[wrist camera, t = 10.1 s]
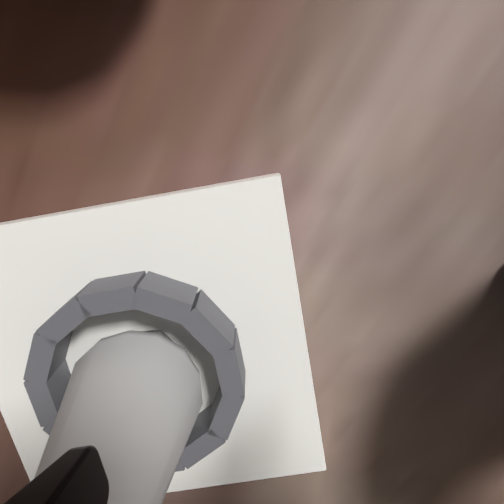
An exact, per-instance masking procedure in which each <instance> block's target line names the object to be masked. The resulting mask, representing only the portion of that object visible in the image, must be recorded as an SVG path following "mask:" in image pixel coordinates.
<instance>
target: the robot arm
mask: <svg viewBox="0 0 504 504" xmlns="http://www.w3.org/2000/svg"><path fill="white" fill-rule="evenodd" d="M108 497H109V481H108V478H107V475H106V472H105V469H104V466H103V463H102V461H101V458H100V455H99V452H98V450H97V448H96V447H95V446H92V445H87V446H81V447H74V448H71V449H69V450H68V451H67V452H65V453H64V454H63V455H62V456H61V457H59V458H58V459H57V460H56V461H55V462H53V463H52V464H51V465H50V466H49V467H47V468H46V469H45V470H44V471H43V472H41V473H40V474H39V475H38V476H37V477H35V478H34V479H33V480H32V481H31V482H30V483H28V484H27V485H26V486H25V487H24V488H22V489H21V490H20V491H19V492H18V493H16V494H15V495H14V496H13V497H12V498H10V499H9V500H8V501H7V502H6V503H4V504H107V502H108Z"/></svg>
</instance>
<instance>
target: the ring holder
mask: <svg viewBox="0 0 504 504" xmlns="http://www.w3.org/2000/svg"><path fill="white" fill-rule="evenodd" d="M129 330H133V331H149V330H162V331H163V332H164V333H165V334H166V335H167V336H169V337H170V338H171V339H172V340H173V341H174V342H175V343H177V344H178V345H180V346H181V347H183V348H184V349H185V351H186V352H187V354H188V355H189V356H190V358H191V359H192V361H193V362H194V364H195V365H196V367H197V368H198V370H199V371H200V380H201V390H202V400H203V404H202V407H201V409H200V412H199V414H198V417H197V419H196V422H195V424H194V427H193V429H192V431H191V434H190V436H189V439H188V441H187V444H186V446H185V449H184V451H183V453H182V456H181V458H180V461H179V463H178V466H177V468H176V471H175V473H174V475H173V478H172V480H171V483H170V485H169V488H168V490H167V492H166V493H168V492H176V491H183V490H190V489H197V488H204V487H211V486H218V485H225V484H232V483H239V482H246V481H253V480H260V479H267V478H274V477H281V476H288V475H295V474H303V473H310V472H317V471H324V470H326V463H325V457H324V451H323V444H322V438H321V431H320V425H319V419H318V412H317V406H316V400H315V393H314V387H313V380H312V374H311V368H310V361H309V355H308V349H307V342H306V336H305V329H304V323H303V317H302V310H301V304H300V297H299V291H298V285H297V278H296V272H295V266H294V259H293V253H292V246H291V240H290V234H289V227H288V221H287V215H286V208H285V202H284V195H283V189H282V183H281V176H280V174H279V173H274V174H268V175H263V176H257V177H252V178H246V179H240V180H235V181H229V182H224V183H218V184H213V185H207V186H202V187H196V188H190V189H185V190H179V191H174V192H168V193H163V194H157V195H152V196H146V197H140V198H135V199H129V200H124V201H118V202H113V203H107V204H102V205H96V206H90V207H85V208H79V209H74V210H68V211H63V212H57V213H52V214H46V215H40V216H35V217H29V218H24V219H18V220H13V221H7V222H1V223H0V410H1V413H2V415H3V418H4V420H5V422H6V425H7V427H8V430H9V432H10V434H11V437H12V439H13V441H14V444H15V446H16V449H17V451H18V453H19V456H20V458H21V461H22V463H23V465H24V468H25V470H26V472H27V475H28V477H29V480H30V482H31V481H32V480H33V479H34V477H35V474H36V472H37V469H38V466H39V463H40V460H41V458H42V455H43V452H44V449H45V447H46V444H47V441H48V438H49V435H50V433H51V430H52V427H53V424H54V421H55V419H56V416H57V413H58V410H59V407H60V405H61V402H62V399H63V396H64V394H65V391H66V388H67V385H68V382H69V379H70V377H71V374H72V371H73V368H74V365H75V363H76V362H77V361H78V360H79V359H80V358H81V357H82V356H83V355H84V354H85V353H86V352H87V351H88V350H89V349H90V348H92V347H93V346H94V345H95V344H96V343H97V342H98V341H99V340H100V339H102V338H105V337H109V336H112V335H115V334H119V333H122V332H125V331H129Z"/></svg>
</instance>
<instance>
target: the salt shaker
mask: <svg viewBox="0 0 504 504" xmlns="http://www.w3.org/2000/svg"><path fill="white" fill-rule="evenodd" d="M202 404H203V400H202V390H201V380H200V371H199V370H198V368H197V367H196V365H195V364H194V362H193V361H192V359H191V358H190V356H189V355H188V354H187V352H186V351H185V349H184V348H183V347H181V346H180V345H178V344H177V343H175V342H174V341H173V340H172V339H171V338H170V337H169V336H167V335H166V334H165V333H164V332H163V331H162V330H149V331H133V330H129V331H125V332H122V333H119V334H115V335H112V336H109V337H105V338H102V339H100V340H99V341H98V342H97V343H96V344H95V345H94V346H93V347H92V348H90V349H89V350H88V351H87V352H86V353H85V354H84V355H83V356H82V357H81V358H80V359H79V360H78V361H77V362H76V363H75V365H74V368H73V371H72V374H71V377H70V379H69V382H68V385H67V388H66V391H65V394H64V396H63V399H62V402H61V405H60V407H59V410H58V413H57V416H56V419H55V421H54V424H53V427H52V430H51V433H50V435H49V438H48V441H47V444H46V447H45V449H44V452H43V455H42V458H41V460H40V463H39V466H38V469H37V472H36V474H35V477H37V476H38V475H39V474H40V473H41V472H43V471H44V470H45V469H46V468H47V467H49V466H50V465H51V464H52V463H53V462H55V461H56V460H57V459H58V458H59V457H61V456H62V455H63V454H64V453H65V452H67V451H68V450H69V449H71V448H74V447H81V446H87V445H92V446H95V447H96V448H97V450H98V452H99V455H100V458H101V461H102V463H103V466H104V469H105V472H106V475H107V478H108V481H109V497H108V502H107V504H162V502H163V500H164V497H165V495H166V492H167V490H168V488H169V485H170V483H171V480H172V478H173V475H174V473H175V471H176V468H177V466H178V463H179V461H180V458H181V456H182V453H183V451H184V449H185V446H186V444H187V441H188V439H189V436H190V434H191V431H192V429H193V427H194V424H195V422H196V419H197V417H198V414H199V412H200V409H201V407H202ZM35 477H34V478H35Z"/></svg>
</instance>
